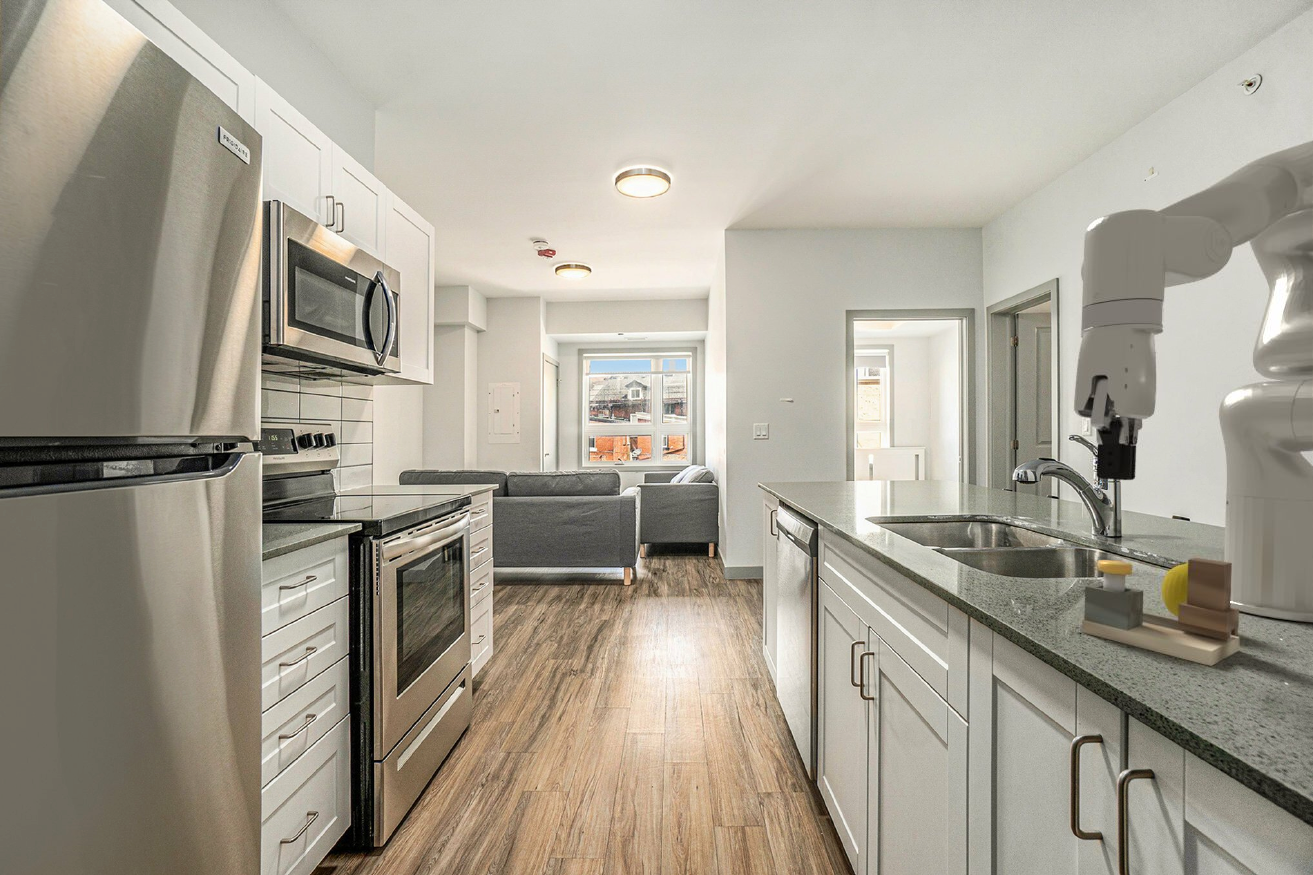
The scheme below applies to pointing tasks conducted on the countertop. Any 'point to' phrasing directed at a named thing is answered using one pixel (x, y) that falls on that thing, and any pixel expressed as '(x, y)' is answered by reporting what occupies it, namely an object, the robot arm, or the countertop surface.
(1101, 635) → the rail base
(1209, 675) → the countertop surface
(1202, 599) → the block
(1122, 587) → the button
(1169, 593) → the lemon
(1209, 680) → the countertop surface
